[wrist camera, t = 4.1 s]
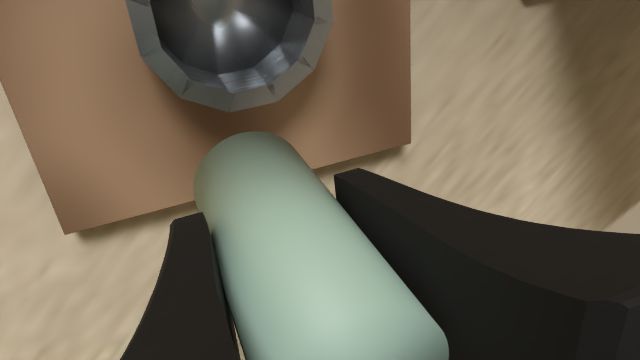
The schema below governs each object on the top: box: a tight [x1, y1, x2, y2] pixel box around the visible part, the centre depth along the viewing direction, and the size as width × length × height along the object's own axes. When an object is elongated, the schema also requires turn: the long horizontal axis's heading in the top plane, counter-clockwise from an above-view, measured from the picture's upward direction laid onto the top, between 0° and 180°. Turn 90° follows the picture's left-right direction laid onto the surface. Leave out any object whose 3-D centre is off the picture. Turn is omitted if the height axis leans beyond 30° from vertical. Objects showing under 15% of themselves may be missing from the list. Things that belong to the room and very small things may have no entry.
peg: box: [193, 131, 449, 360], centre depth 11 cm, size 3×3×7 cm
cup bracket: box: [0, 0, 411, 235], centre depth 15 cm, size 14×14×5 cm
